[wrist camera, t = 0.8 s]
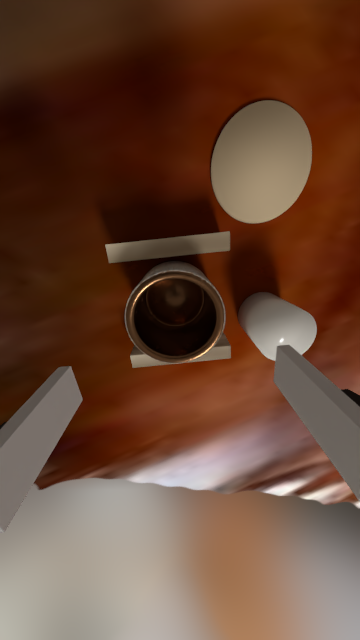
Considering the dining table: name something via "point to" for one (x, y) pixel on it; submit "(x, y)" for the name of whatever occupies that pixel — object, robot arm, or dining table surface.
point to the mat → (261, 161)
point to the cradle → (169, 249)
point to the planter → (175, 313)
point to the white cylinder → (276, 324)
